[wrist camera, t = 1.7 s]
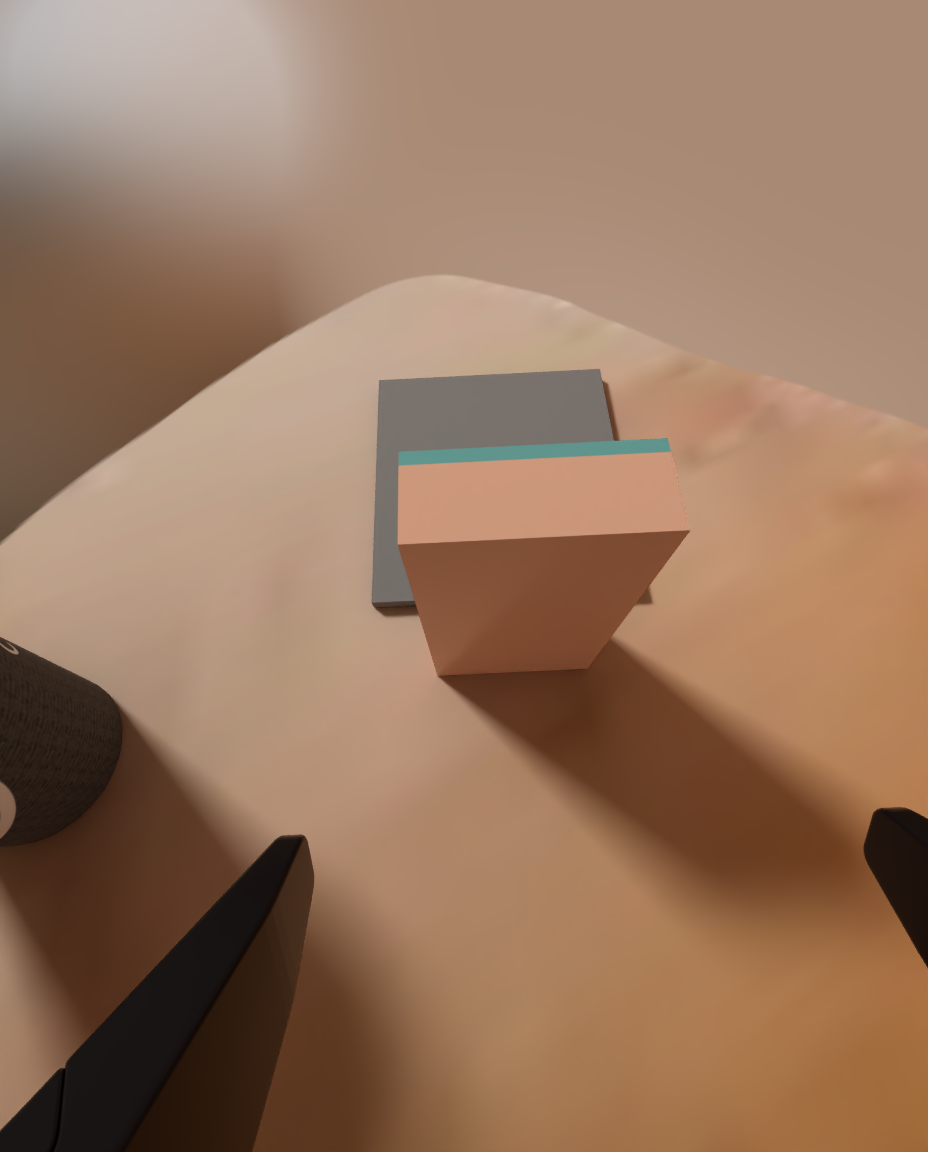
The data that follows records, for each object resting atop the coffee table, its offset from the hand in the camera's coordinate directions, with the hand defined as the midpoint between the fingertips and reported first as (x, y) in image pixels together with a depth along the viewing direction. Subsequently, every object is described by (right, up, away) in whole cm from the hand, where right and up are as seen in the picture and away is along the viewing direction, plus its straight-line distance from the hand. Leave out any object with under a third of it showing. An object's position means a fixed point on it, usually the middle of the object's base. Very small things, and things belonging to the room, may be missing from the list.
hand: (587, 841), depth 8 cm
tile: (0, +1, +15) cm, 15 cm away
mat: (0, +9, +18) cm, 20 cm away
